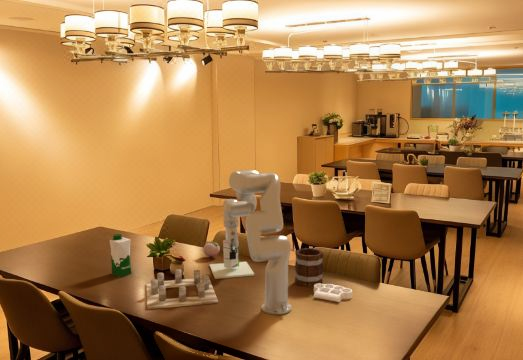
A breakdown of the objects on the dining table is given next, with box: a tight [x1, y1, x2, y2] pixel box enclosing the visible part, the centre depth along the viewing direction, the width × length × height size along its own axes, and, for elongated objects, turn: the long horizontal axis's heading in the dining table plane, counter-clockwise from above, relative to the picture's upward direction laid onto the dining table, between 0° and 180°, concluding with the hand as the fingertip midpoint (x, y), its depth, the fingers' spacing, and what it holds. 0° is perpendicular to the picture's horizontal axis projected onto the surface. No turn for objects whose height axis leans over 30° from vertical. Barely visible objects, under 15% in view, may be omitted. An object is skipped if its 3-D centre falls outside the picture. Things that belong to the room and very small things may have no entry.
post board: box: [145, 268, 219, 310], centre depth 226 cm, size 30×30×7 cm
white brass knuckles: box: [313, 283, 353, 303], centre depth 224 cm, size 3×18×15 cm
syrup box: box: [222, 239, 240, 269], centre depth 255 cm, size 6×6×14 cm
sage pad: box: [209, 261, 255, 280], centre depth 257 cm, size 20×20×1 cm
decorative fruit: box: [203, 240, 221, 259], centre depth 277 cm, size 9×8×10 cm
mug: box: [294, 247, 324, 288], centre depth 243 cm, size 20×14×15 cm
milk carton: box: [108, 233, 132, 278], centre depth 250 cm, size 9×9×20 cm
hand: (231, 256), depth 255 cm, fingers closed on syrup box, 7 cm apart
